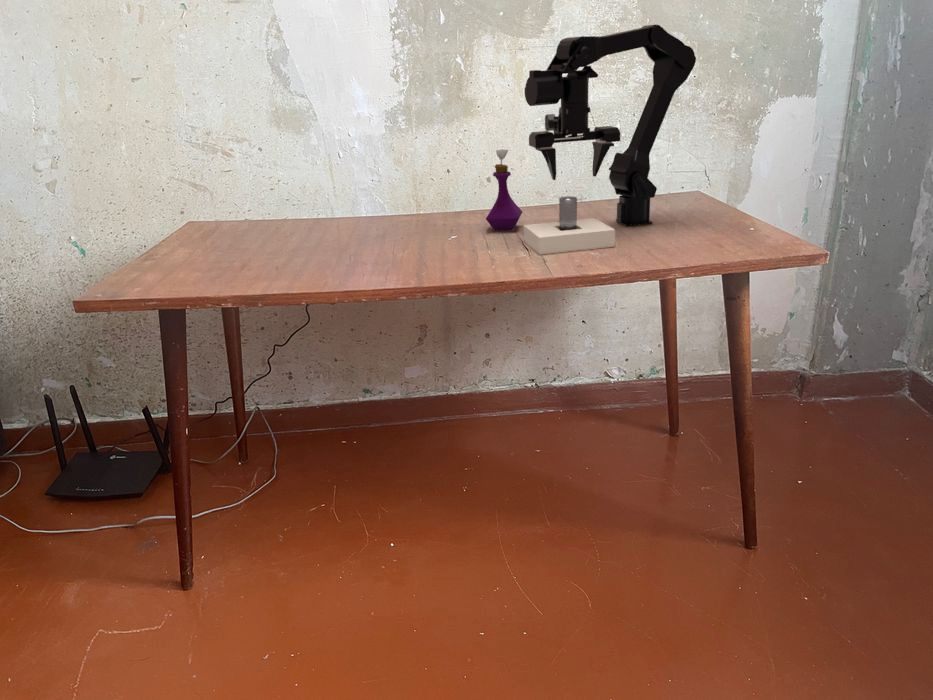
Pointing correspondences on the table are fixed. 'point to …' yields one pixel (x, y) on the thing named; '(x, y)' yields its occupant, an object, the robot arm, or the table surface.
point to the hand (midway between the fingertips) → (574, 178)
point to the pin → (567, 213)
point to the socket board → (569, 236)
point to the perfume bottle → (503, 201)
